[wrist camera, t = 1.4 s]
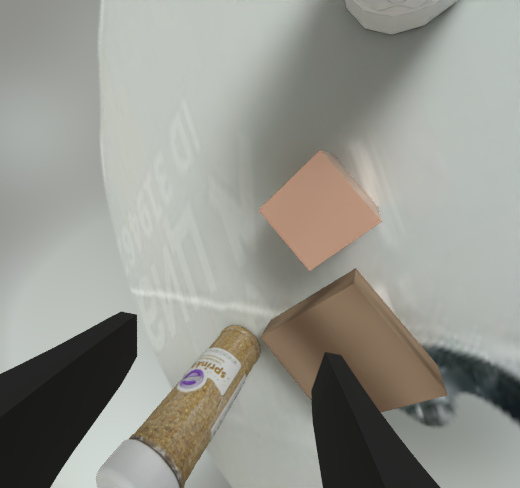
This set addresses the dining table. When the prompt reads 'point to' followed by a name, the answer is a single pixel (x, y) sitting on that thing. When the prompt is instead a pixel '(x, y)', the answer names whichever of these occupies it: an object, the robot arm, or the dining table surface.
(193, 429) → the sprinkles bottle
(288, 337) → the walnut box
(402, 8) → the white cup
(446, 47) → the dining table surface
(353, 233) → the terracotta block
